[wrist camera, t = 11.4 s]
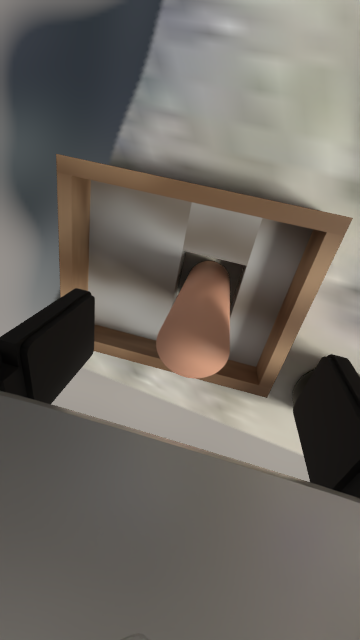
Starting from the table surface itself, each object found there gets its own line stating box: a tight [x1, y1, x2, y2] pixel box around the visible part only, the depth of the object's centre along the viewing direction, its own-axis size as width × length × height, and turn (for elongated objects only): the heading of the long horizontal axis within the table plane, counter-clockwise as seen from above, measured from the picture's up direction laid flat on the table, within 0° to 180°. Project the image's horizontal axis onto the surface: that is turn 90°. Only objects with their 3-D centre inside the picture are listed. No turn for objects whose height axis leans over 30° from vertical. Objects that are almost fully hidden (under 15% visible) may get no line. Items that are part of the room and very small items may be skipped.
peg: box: [156, 261, 230, 378], centre depth 17 cm, size 4×4×11 cm
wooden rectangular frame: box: [56, 154, 353, 398], centre depth 20 cm, size 14×18×4 cm
